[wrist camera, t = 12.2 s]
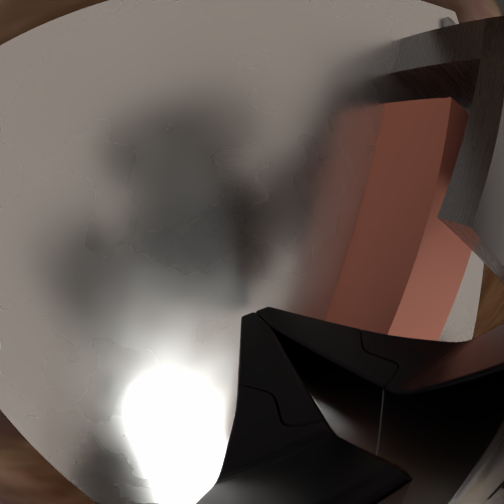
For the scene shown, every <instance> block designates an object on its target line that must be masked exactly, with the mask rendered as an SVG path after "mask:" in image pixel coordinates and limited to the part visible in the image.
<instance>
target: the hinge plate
mask: <svg viewBox="0 0 504 504" xmlns="http://www.w3.org/2000/svg"><path fill="white" fill-rule="evenodd" d="M455 24H459V22H458V19H457V16H456V13H455V12H454V11H451V10H449V9H446V8H443V7H440V6H437V5H434V4H431V3H427V2H424V1H421V0H108V1H105V2H102V3H99V4H95V5H92V6H89V7H86V8H83V9H80V10H78V11H75V12H72V13H69V14H67V15H64V16H62V17H59V18H57V19H54V20H52V21H49V22H47V23H45V24H42V25H40V26H38V27H36V28H34V29H31V30H29V31H27V32H25V33H23V34H21V35H19V36H17V37H15V38H13V39H11V40H9V41H7V42H6V43H4V44H2V45H0V409H1V411H2V412H3V413H4V414H5V416H6V417H7V418H8V419H9V420H10V422H11V423H12V424H13V425H14V426H15V427H16V429H17V430H18V431H19V432H20V433H21V434H22V435H23V436H24V437H25V438H26V440H27V441H28V442H29V443H30V444H31V445H32V446H33V447H34V448H35V449H36V450H37V451H38V452H39V453H40V454H41V455H42V456H43V457H44V458H45V459H46V460H47V461H48V462H49V463H50V464H51V465H52V466H53V467H54V468H56V469H57V470H58V471H59V472H60V473H61V474H62V475H63V476H64V477H65V478H67V479H68V480H69V481H70V482H71V483H72V484H74V485H75V486H76V487H77V488H78V489H80V490H81V491H82V492H83V493H85V494H86V495H87V496H88V497H90V498H91V499H92V500H93V501H95V502H96V503H97V504H195V503H196V502H197V501H198V500H199V499H200V498H201V497H202V496H203V495H204V494H205V493H206V492H208V491H209V490H210V489H211V487H212V486H213V485H214V483H215V482H216V480H217V478H218V476H219V473H220V470H221V467H222V464H223V460H224V456H225V452H226V448H227V444H228V440H229V437H230V433H231V429H232V424H233V420H234V415H235V409H236V399H237V387H238V368H239V349H240V331H241V318H242V316H244V315H247V314H250V313H252V312H255V313H256V311H258V310H260V309H263V308H265V307H273V308H276V309H280V310H284V311H288V312H292V313H296V314H300V315H304V316H308V317H312V318H316V319H320V320H324V319H325V316H326V313H327V311H328V308H329V305H330V302H331V299H332V296H333V293H334V291H335V288H336V285H337V282H338V279H339V276H340V273H341V270H342V266H343V263H344V260H345V257H346V254H347V251H348V247H349V244H350V241H351V238H352V234H353V231H354V227H355V224H356V221H357V217H358V214H359V210H360V206H361V203H362V199H363V195H364V192H365V188H366V184H367V180H368V176H369V172H370V168H371V164H372V160H373V156H374V152H375V147H376V143H377V139H378V134H379V130H380V125H381V120H382V115H383V111H384V105H385V103H392V102H400V101H410V100H418V99H417V98H416V97H415V96H414V95H413V94H412V93H411V92H410V91H409V90H408V89H407V88H406V87H405V86H404V85H403V84H401V83H400V82H399V81H398V80H397V79H396V78H395V77H394V76H393V75H392V74H391V70H392V68H393V65H394V62H395V60H396V57H397V54H398V51H399V49H400V46H401V43H402V40H403V38H405V37H408V36H412V35H415V34H419V33H423V32H426V31H430V30H434V29H438V28H442V27H447V26H451V25H455ZM483 266H484V262H483V261H482V260H481V259H480V258H479V257H478V256H477V255H476V254H475V253H474V252H473V251H471V255H470V258H469V261H468V264H467V267H466V270H465V273H464V276H463V279H462V282H461V285H460V288H459V290H458V293H457V296H456V298H455V301H454V304H453V306H452V309H451V311H450V314H449V316H448V318H447V321H446V323H445V326H444V328H443V330H442V332H441V335H440V337H439V339H438V341H446V342H463V341H468V340H471V339H472V337H473V332H474V327H475V322H476V317H477V311H478V305H479V299H480V292H481V284H482V276H483Z"/></svg>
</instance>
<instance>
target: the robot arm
mask: <svg viewBox="0 0 504 504" xmlns="http://www.w3.org/2000/svg"><path fill="white" fill-rule="evenodd" d="M195 504H504V323H503V324H501V325H499V326H497V327H496V328H494V329H492V330H490V331H488V332H486V333H485V334H483V335H481V336H479V337H477V338H474V339H471V340H468V341H463V342H446V341H435V340H425V339H416V338H407V337H400V336H393V335H387V334H382V333H377V332H372V331H367V330H362V331H361V329H358V328H354V327H349V326H345V325H341V324H337V323H332V322H328V321H324V320H320V319H316V318H312V317H308V316H304V315H300V314H296V313H292V312H288V311H284V310H280V309H276V308H273V307H265V308H263V309H260V310H258V311H256V313H255V312H252V313H250V314H247V315H244V316H242V318H241V331H240V349H239V368H238V387H237V399H236V409H235V415H234V420H233V424H232V429H231V433H230V437H229V440H228V444H227V448H226V452H225V456H224V460H223V464H222V467H221V470H220V473H219V476H218V478H217V480H216V482H215V483H214V485H213V486H212V487H211V489H210V490H209V491H208V492H206V493H205V494H204V495H203V496H202V497H201V498H200V499H199V500H198V501H197V502H196V503H195Z"/></svg>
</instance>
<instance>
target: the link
mask: <svg viewBox="0 0 504 504" xmlns="http://www.w3.org/2000/svg"><path fill="white" fill-rule="evenodd" d="M468 118H469V113H468V112H467V111H466V110H465V109H464V108H463V107H462V106H460V105H459V104H458V103H457V102H456V101H455V100H454V99H453V98H452V97H448V98H433V99H421V100H410V101H400V102H392V103H385V105H384V111H383V115H382V120H381V125H380V130H379V134H378V139H377V143H376V147H375V152H374V156H373V160H372V164H371V168H370V172H369V176H368V180H367V184H366V188H365V192H364V195H363V199H362V203H361V206H360V210H359V214H358V217H357V221H356V224H355V227H354V231H353V234H352V238H351V241H350V244H349V247H348V251H347V254H346V257H345V260H344V263H343V266H342V270H341V273H340V276H339V279H338V282H337V285H336V288H335V291H334V293H333V296H332V299H331V302H330V305H329V308H328V311H327V313H326V316H325V319H324V321H328V322H332V323H337V324H341V325H345V326H349V327H354V328H358V329H361V331H362V330H367V331H372V332H377V333H382V334H387V335H393V336H400V337H407V338H416V339H425V340H435V341H438V339H439V337H440V335H441V332H442V330H443V328H444V326H445V323H446V321H447V318H448V316H449V314H450V311H451V309H452V306H453V304H454V301H455V298H456V296H457V293H458V290H459V288H460V285H461V282H462V279H463V276H464V273H465V270H466V267H467V264H468V261H469V258H470V255H471V251H472V250H471V249H470V248H469V247H468V246H467V245H466V244H465V243H464V242H463V241H462V240H461V239H460V238H459V237H458V236H457V235H456V234H455V233H454V232H453V231H452V230H450V229H449V228H448V227H447V226H446V225H445V224H444V223H443V222H442V221H441V220H440V219H438V218H437V215H438V213H439V210H440V208H441V205H442V202H443V200H444V197H445V194H446V191H447V188H448V185H449V183H450V180H451V177H452V174H453V171H454V167H455V164H456V161H457V158H458V154H459V151H460V148H461V144H462V141H463V137H464V133H465V130H466V126H467V122H468Z"/></svg>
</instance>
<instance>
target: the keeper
mask: <svg viewBox="0 0 504 504" xmlns="http://www.w3.org/2000/svg"><path fill="white" fill-rule="evenodd" d="M391 74H392V75H393V76H394V77H395V78H396V79H397V80H398V81H399V82H400V83H401V84H403V85H404V86H405V87H406V88H407V89H408V90H409V91H410V92H411V93H412V94H413V95H414V96H415V97H416V98H417V99H418V100H421V99H433V98H448V97H452V98H453V99H454V100H455V101H456V102H457V103H458V104H459V105H460V106H462V107H463V108H464V109H465V110H466V111H467V112H468V113H469V118H468V122H467V126H466V130H465V133H464V137H463V141H462V144H461V148H460V151H459V154H458V158H457V161H456V164H455V167H454V171H453V174H452V177H451V180H450V183H449V185H448V188H447V191H446V194H445V197H444V200H443V202H442V205H441V208H440V210H439V213H438V215H437V218H438V219H440V220H441V221H442V222H443V223H444V224H445V225H446V226H447V227H448V228H449V229H450V230H452V231H453V232H454V233H455V234H456V235H457V236H458V237H459V238H460V239H461V240H462V241H463V242H464V243H465V244H466V245H467V246H468V247H469V248H470V249H471V250H472V251H473V252H474V253H475V254H476V255H477V256H478V257H479V258H480V259H481V260H482V261H483V262H484V263H485V264H486V265H487V266H488V267H489V268H490V269H491V271H492V272H493V273H494V274H495V275H496V276H497V277H498V278H499V279H500V280H501V281H502V283H503V284H504V16H499V17H493V18H486V19H481V20H475V21H470V22H465V23H460V24H455V25H451V26H447V27H442V28H438V29H434V30H430V31H426V32H423V33H419V34H415V35H412V36H408V37H405V38H403V40H402V43H401V46H400V49H399V51H398V54H397V57H396V60H395V62H394V65H393V68H392V70H391Z"/></svg>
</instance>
